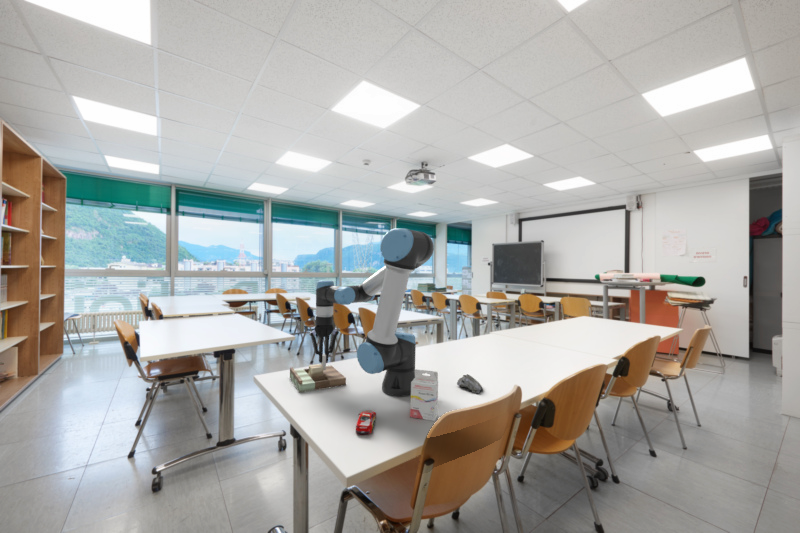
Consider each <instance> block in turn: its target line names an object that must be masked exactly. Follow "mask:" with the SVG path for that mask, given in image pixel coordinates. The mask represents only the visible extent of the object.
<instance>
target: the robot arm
mask: <svg viewBox="0 0 800 533" xmlns="http://www.w3.org/2000/svg"><path fill="white" fill-rule="evenodd" d="M434 249H435V245H434V242H433V239H432V238H431V237H430V235H429V234H427V233H425V232H423V231H419V230H418V231H417V230H413V229H408V228H403V227H402V228H399V227H397V228H392V229H390V230H389V231H387V232H386V233H385V234H384V235H383V237H382V238H381V242H380V249H379V250H380V252H381V256H382V258H384V259H383V265H384V266H382V267H381V268H380V269H378V270H377V271H376V272H375V273H373V274H372V275H371V276H370V277H368V278H367V279H366V280H364V281H363V282H362V283H360V284H358V285H335V281H333V280H318V281H317V282H316V288H315V326H314V328H313V330H312V331H310V332H309V333H308V335H309V336H310V338H311V342H312V347H313V352H314V353H315V354H316V355H318V363H319V364H321V365H322V366H323V371H324V370H326V366H327V363H328V362H329V355H330V354H332V353H333V351H334V347H335V344H336V340H337V336H338V335H339V333H340V332H339V331H338V330H337V329H335V328H334V316H333V315H334V304H336V305H337V304H338V305H340V306H341V305H342V306H344V305H347V306H348V305H351V304H357V303H368V302H372V301H373V300H374V299H375V297H376V294H378V293H380V294H379V295H380V296H379V300H378V303H377V304H378V305H377V308H376V309H377V310H376V312H375V313H376V314H375V317H374V322H373V326H372V329H371V330H369V331H368V332H367V334H366V339H365V341H364V342H362V343H361V344H359V345H358V347H357V349H356V359H357V361H358V362H357V363H358V364H359V366H360V368H361V369H362V370H363V371H364V372H365V373H367V374H370V375H375V374H380V373H382V372H384V371H385V375H384V378H383V380H382V384H381V390H382V392H383V393H384V394H387V395H389V396H394V397H408V396H410V397H411V382H412V381H413V379H414V378H415V370H416V346H417V343H416V336H415V335H414V334H412V333H408V332H401V331H397V328H398V324H399V319H400V316H401V311H402V308H403V303H404V299H405V295H406V291H407V286H408V282H409V277H410V274H411V273H412V272H414V271H416V269H417V270H418V268H420V267H421V266H422V265H424V264H425V263H426V262H428V261H429V260H430V259H431V258H432V256H433V254H434ZM331 334H332V335H331ZM316 335H317V336H318V343H317V339H316ZM330 336H331V338H330Z"/></svg>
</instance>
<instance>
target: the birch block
mask: <svg viewBox="0 0 800 533" xmlns="http://www.w3.org/2000/svg"><path fill="white" fill-rule="evenodd" d="M308 369H309V375H310V376H311V377H314V376H321V375H323V366H322V365H321V363H317V364H310V365H308Z"/></svg>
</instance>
